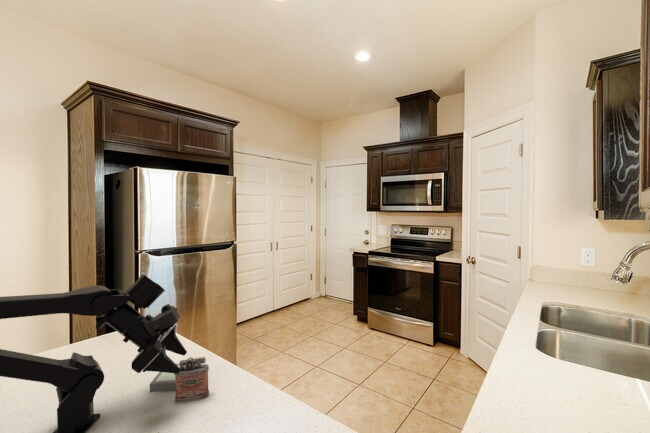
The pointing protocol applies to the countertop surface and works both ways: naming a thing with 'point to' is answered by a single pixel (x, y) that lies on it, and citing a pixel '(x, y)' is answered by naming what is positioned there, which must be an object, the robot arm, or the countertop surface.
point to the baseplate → (163, 381)
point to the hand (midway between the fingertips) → (182, 362)
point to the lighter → (192, 380)
